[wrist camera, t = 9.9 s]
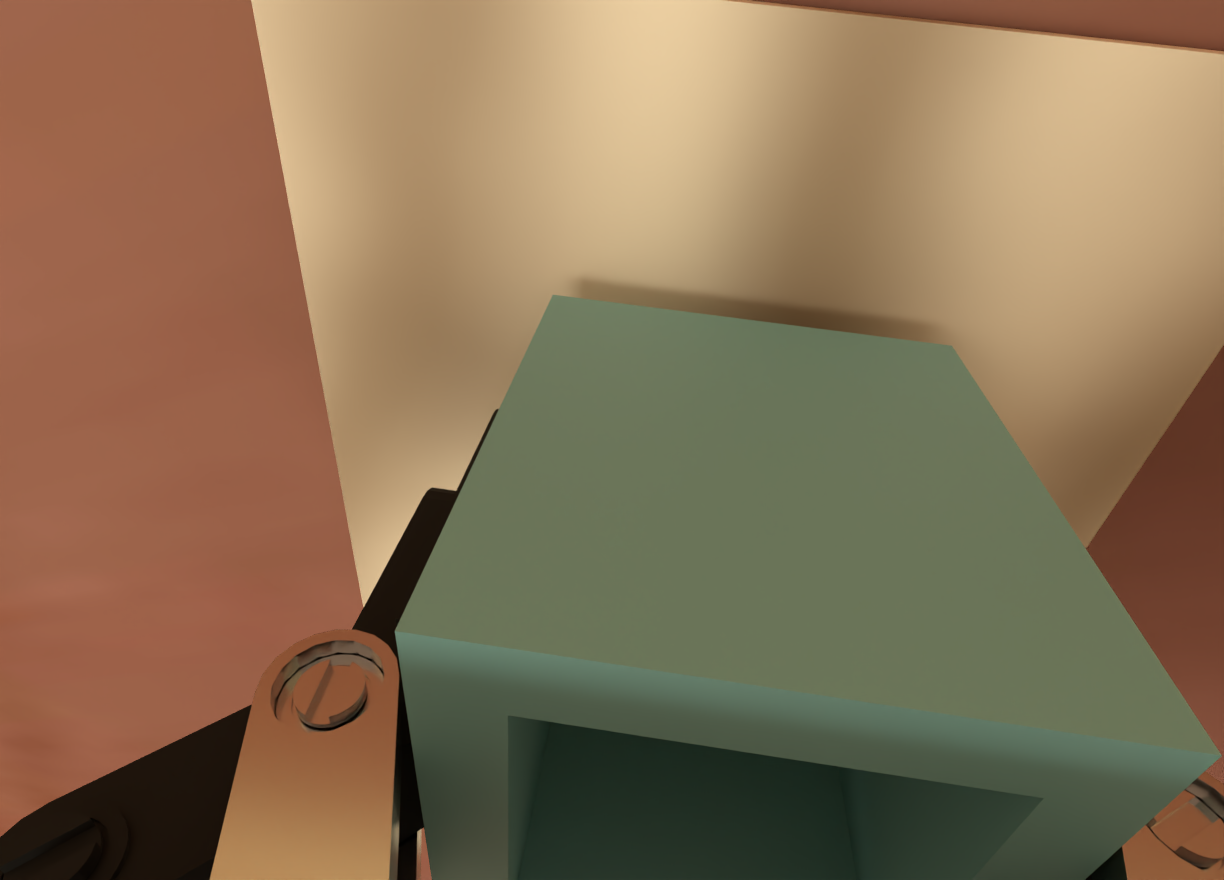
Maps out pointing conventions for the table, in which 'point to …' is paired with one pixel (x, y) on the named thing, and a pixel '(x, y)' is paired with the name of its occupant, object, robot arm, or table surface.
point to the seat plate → (742, 210)
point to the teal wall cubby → (771, 625)
